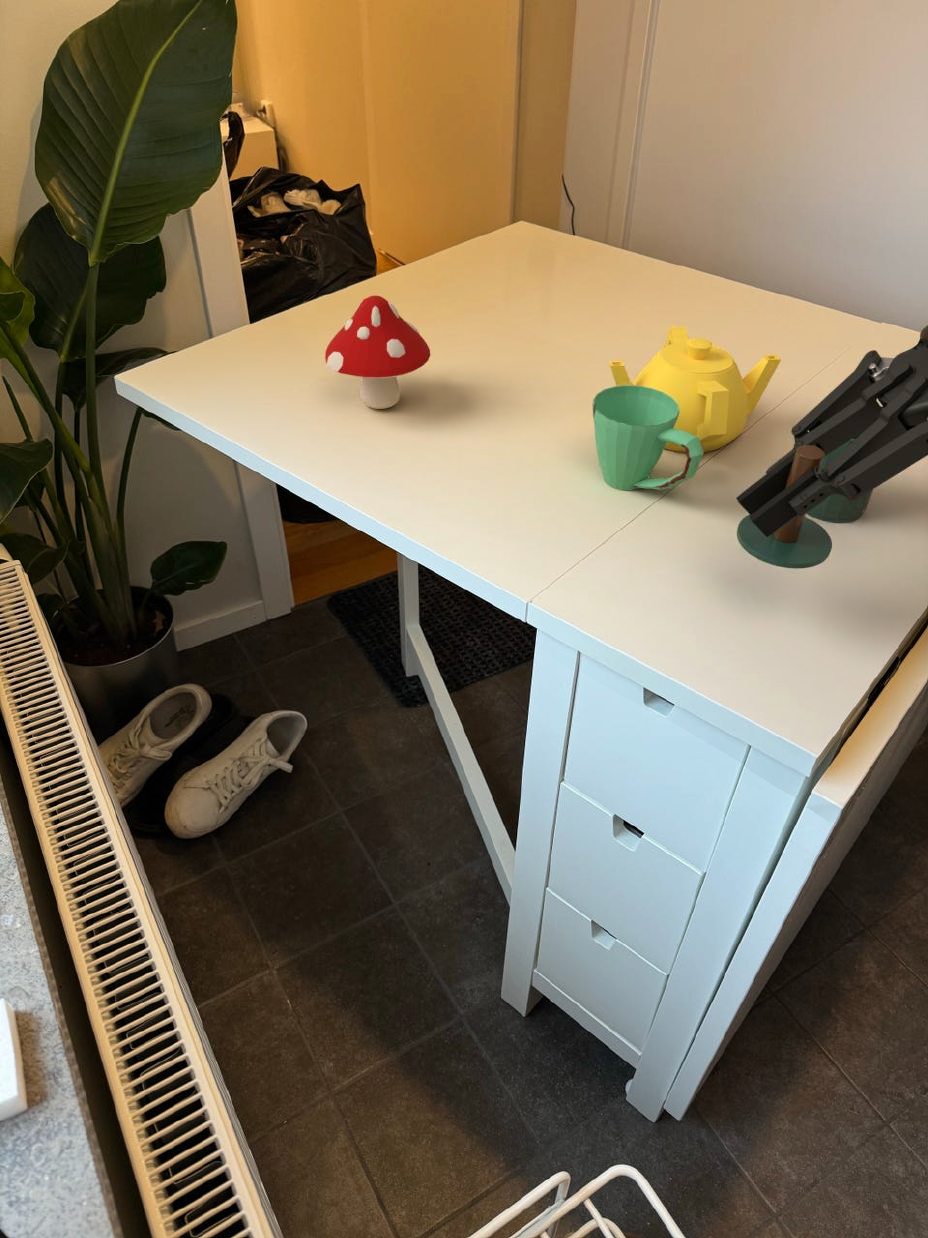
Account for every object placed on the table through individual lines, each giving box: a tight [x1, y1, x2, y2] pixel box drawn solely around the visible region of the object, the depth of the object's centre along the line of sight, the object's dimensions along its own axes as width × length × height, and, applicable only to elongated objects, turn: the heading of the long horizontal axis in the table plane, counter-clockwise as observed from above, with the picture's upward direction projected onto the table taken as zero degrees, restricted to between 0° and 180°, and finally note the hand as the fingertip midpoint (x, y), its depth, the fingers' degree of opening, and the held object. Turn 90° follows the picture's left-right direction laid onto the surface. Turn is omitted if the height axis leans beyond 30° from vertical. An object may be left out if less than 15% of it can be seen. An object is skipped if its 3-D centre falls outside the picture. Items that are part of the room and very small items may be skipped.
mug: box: [591, 385, 705, 491], centre depth 104 cm, size 15×10×10 cm
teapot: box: [608, 326, 782, 453], centre depth 114 cm, size 17×17×12 cm
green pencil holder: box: [806, 430, 874, 524], centre depth 102 cm, size 8×8×10 cm
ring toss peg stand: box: [736, 445, 833, 570], centre depth 81 cm, size 9×9×10 cm
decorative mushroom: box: [324, 295, 431, 410], centre depth 116 cm, size 14×14×15 cm
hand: (751, 517), depth 82 cm, fingers closed on ring toss peg stand, 2 cm apart
